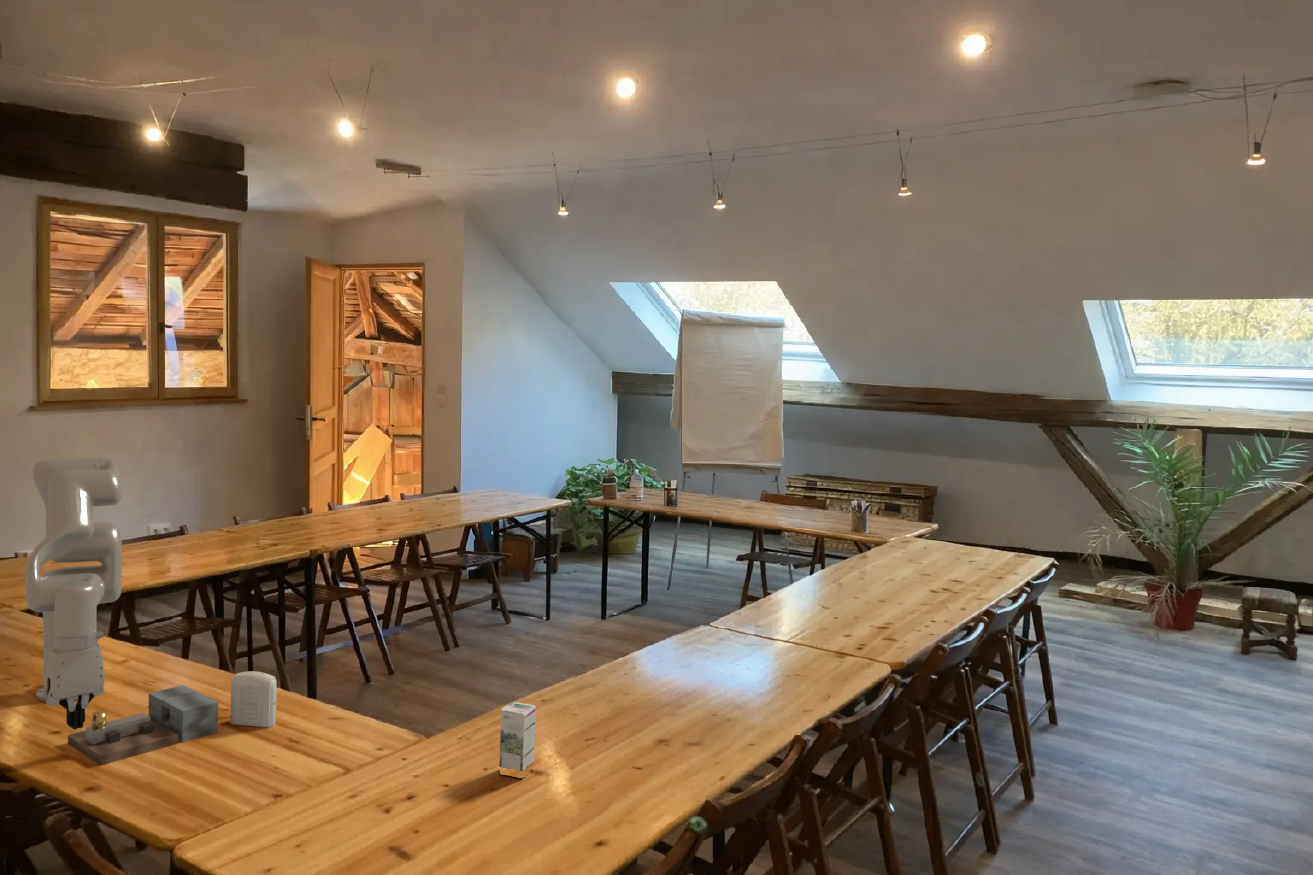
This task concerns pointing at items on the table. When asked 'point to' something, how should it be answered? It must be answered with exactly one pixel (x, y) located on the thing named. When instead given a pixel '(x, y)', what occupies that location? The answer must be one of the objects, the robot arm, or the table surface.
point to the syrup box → (517, 735)
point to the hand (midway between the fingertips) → (75, 726)
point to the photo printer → (253, 699)
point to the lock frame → (157, 726)
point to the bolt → (114, 726)
